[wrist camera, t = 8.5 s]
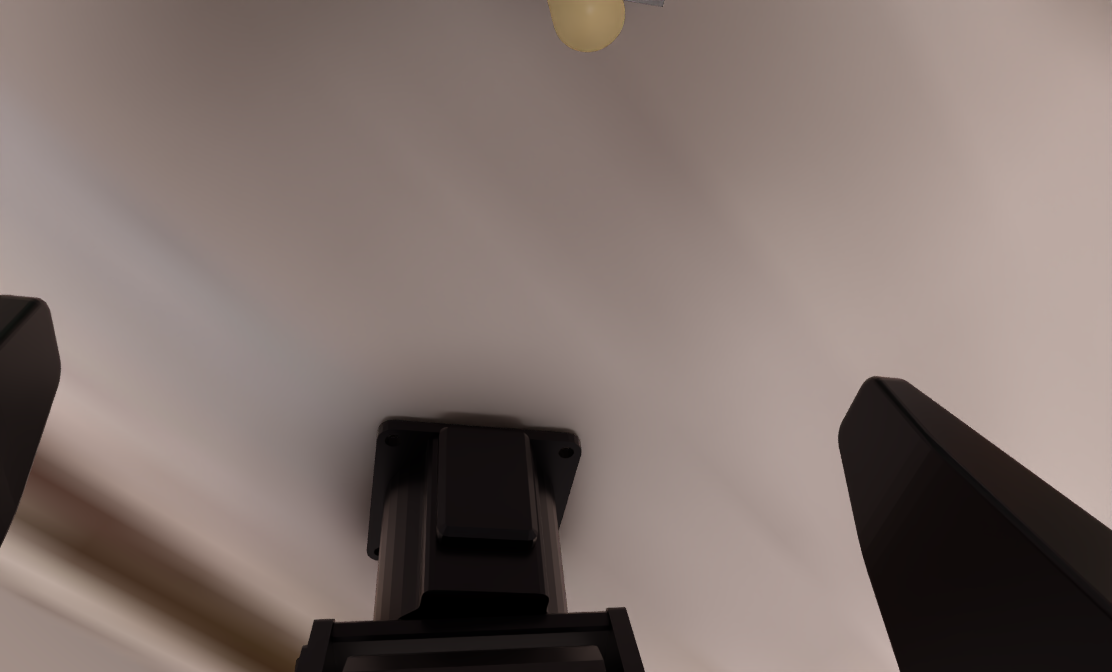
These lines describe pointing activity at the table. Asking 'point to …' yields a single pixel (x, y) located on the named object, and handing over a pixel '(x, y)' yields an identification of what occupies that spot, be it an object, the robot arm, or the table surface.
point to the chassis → (590, 21)
